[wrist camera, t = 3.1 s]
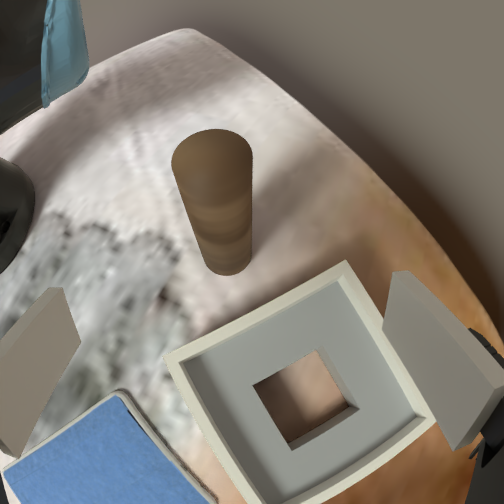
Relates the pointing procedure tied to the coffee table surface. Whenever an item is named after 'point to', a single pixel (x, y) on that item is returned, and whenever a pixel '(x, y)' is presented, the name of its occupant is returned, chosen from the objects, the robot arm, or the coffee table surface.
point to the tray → (282, 355)
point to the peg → (217, 196)
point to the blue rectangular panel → (104, 463)
